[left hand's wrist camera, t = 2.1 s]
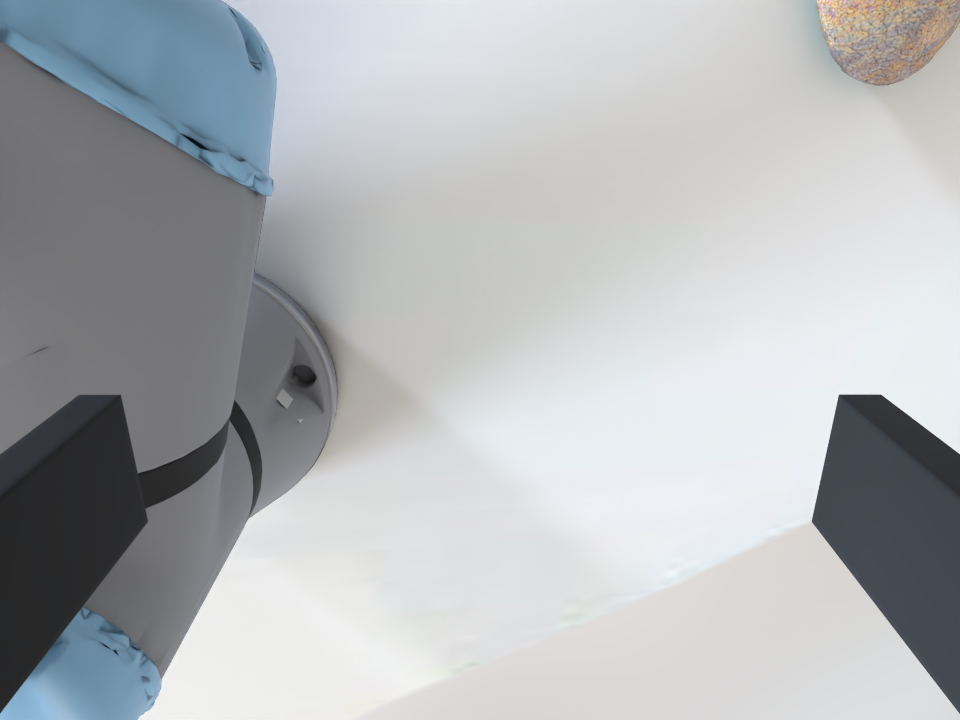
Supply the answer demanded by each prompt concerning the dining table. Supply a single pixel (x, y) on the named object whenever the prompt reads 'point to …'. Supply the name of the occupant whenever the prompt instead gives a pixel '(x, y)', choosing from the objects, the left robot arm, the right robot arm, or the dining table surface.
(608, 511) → the dining table surface
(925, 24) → the speckled felt slipper
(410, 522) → the dining table surface
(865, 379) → the dining table surface
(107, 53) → the left robot arm
